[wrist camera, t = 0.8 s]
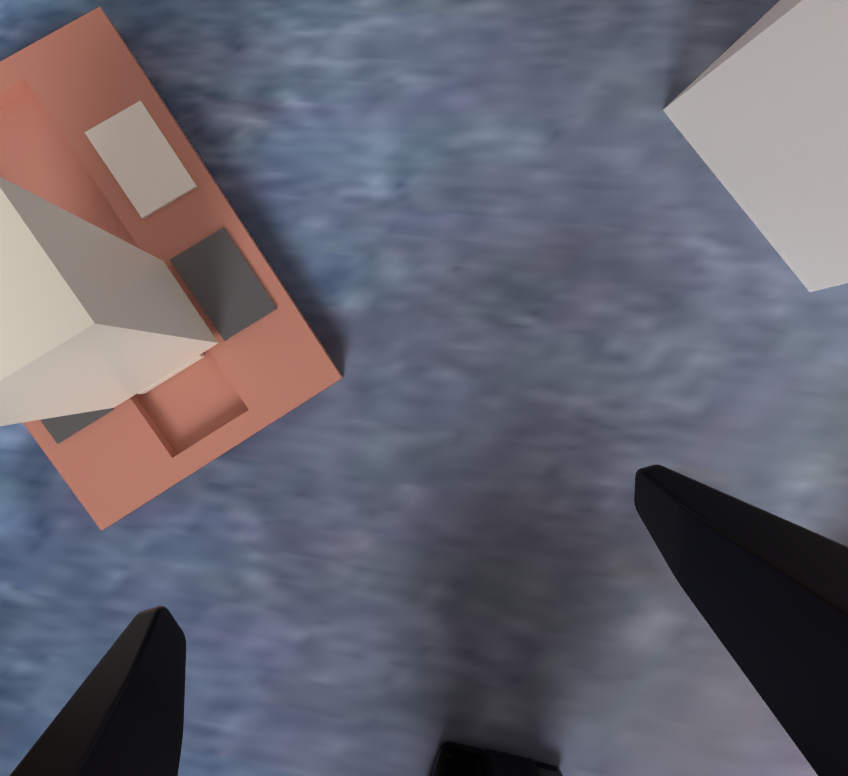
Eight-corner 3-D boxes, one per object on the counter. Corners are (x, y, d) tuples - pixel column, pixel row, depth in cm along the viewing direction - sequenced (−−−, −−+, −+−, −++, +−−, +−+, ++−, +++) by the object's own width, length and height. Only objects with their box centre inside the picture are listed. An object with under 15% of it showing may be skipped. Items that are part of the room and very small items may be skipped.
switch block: (343, 377, 24) (341, 378, 23) (118, 520, 24) (99, 531, 22) (117, 29, 23) (97, 3, 21) (-134, 170, 22) (-175, 154, 20)
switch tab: (224, 344, 23) (94, 323, 12) (125, 406, 23) (-104, 442, 12) (172, 265, 22) (-12, 170, 12) (70, 327, 22) (-220, 288, 11)
